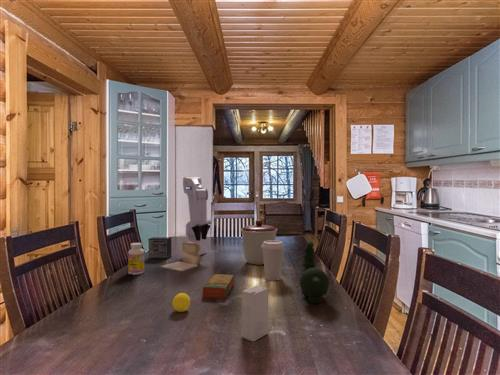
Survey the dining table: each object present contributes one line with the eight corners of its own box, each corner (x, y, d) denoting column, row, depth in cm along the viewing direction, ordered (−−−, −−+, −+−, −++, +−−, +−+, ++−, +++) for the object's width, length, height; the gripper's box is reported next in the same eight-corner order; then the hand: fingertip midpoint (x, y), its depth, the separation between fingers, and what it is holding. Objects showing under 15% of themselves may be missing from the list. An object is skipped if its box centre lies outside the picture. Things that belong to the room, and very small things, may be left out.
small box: (172, 256, 177) (172, 236, 177) (167, 259, 170) (167, 239, 170) (153, 256, 178) (152, 236, 178) (148, 259, 172) (147, 238, 171)
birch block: (188, 261, 166) (188, 241, 166) (200, 263, 162) (200, 243, 162) (182, 263, 163) (182, 242, 163) (194, 265, 158) (194, 244, 158)
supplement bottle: (124, 273, 143) (124, 244, 143) (136, 270, 149) (136, 241, 149) (136, 275, 140) (135, 245, 140) (147, 272, 146) (147, 243, 146)
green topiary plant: (296, 290, 127) (302, 309, 102) (296, 240, 128) (301, 246, 103) (321, 290, 126) (333, 309, 101) (320, 240, 128) (332, 247, 103)
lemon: (190, 315, 100) (189, 299, 99) (171, 316, 99) (171, 299, 98) (191, 304, 107) (190, 288, 106) (173, 305, 106) (173, 289, 105)
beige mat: (178, 262, 164) (178, 261, 164) (198, 266, 157) (198, 264, 157) (160, 267, 154) (160, 266, 154) (181, 271, 147) (181, 270, 147)
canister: (234, 265, 158) (234, 221, 158) (248, 257, 175) (248, 217, 175) (270, 268, 152) (270, 222, 151) (282, 260, 168) (282, 218, 168)
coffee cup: (287, 276, 139) (287, 241, 138) (280, 283, 130) (280, 244, 130) (266, 274, 143) (266, 239, 142) (257, 280, 134) (257, 243, 134)
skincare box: (255, 329, 89) (255, 284, 89) (269, 334, 86) (269, 287, 86) (240, 337, 85) (240, 290, 84) (254, 343, 82) (254, 294, 81)
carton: (234, 285, 128) (234, 274, 128) (226, 300, 113) (226, 287, 112) (213, 284, 130) (213, 273, 129) (202, 298, 114) (202, 286, 114)
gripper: (197, 214, 159) (197, 242, 159) (216, 212, 171) (216, 238, 172) (186, 213, 163) (186, 241, 163) (205, 211, 175) (205, 237, 175)
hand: (201, 239), depth 168 cm, fingers open, 4 cm apart
